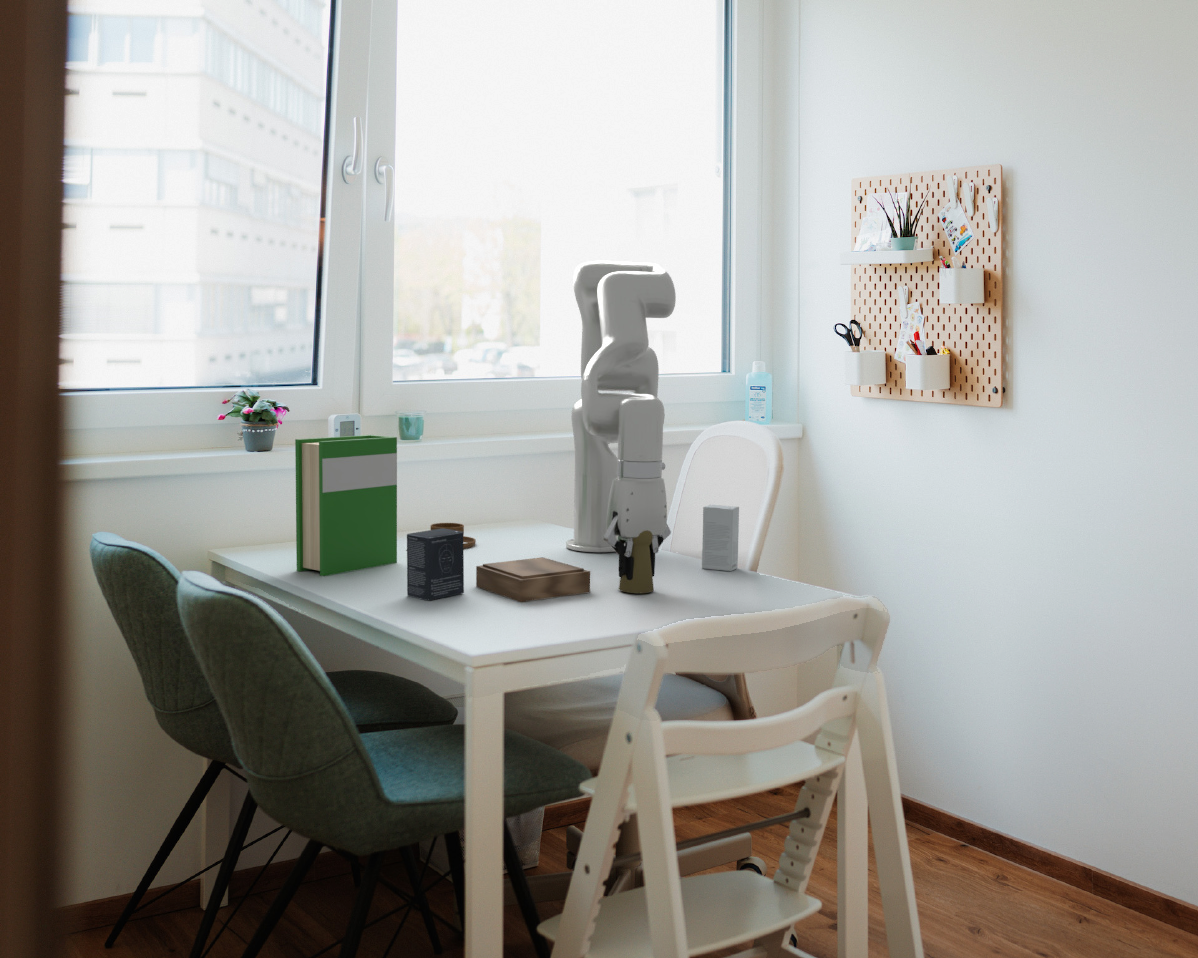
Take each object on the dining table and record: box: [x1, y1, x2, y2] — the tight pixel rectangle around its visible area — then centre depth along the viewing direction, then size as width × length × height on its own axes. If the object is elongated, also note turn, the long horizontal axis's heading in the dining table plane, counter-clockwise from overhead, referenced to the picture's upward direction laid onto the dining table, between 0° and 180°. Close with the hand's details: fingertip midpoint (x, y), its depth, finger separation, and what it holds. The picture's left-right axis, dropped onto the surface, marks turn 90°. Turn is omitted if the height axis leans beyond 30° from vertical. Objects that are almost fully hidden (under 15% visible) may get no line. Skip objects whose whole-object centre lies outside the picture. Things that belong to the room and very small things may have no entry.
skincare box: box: [701, 504, 740, 572], centre depth 207 cm, size 6×4×12 cm
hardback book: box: [294, 434, 398, 577], centre depth 201 cm, size 18×7×24 cm, turn 144°
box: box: [406, 528, 465, 601], centre depth 179 cm, size 8×6×11 cm
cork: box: [618, 530, 655, 594], centre depth 185 cm, size 6×6×11 cm
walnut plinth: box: [475, 557, 591, 603], centre depth 185 cm, size 14×14×4 cm
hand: (636, 575), depth 185 cm, fingers closed on cork, 4 cm apart
